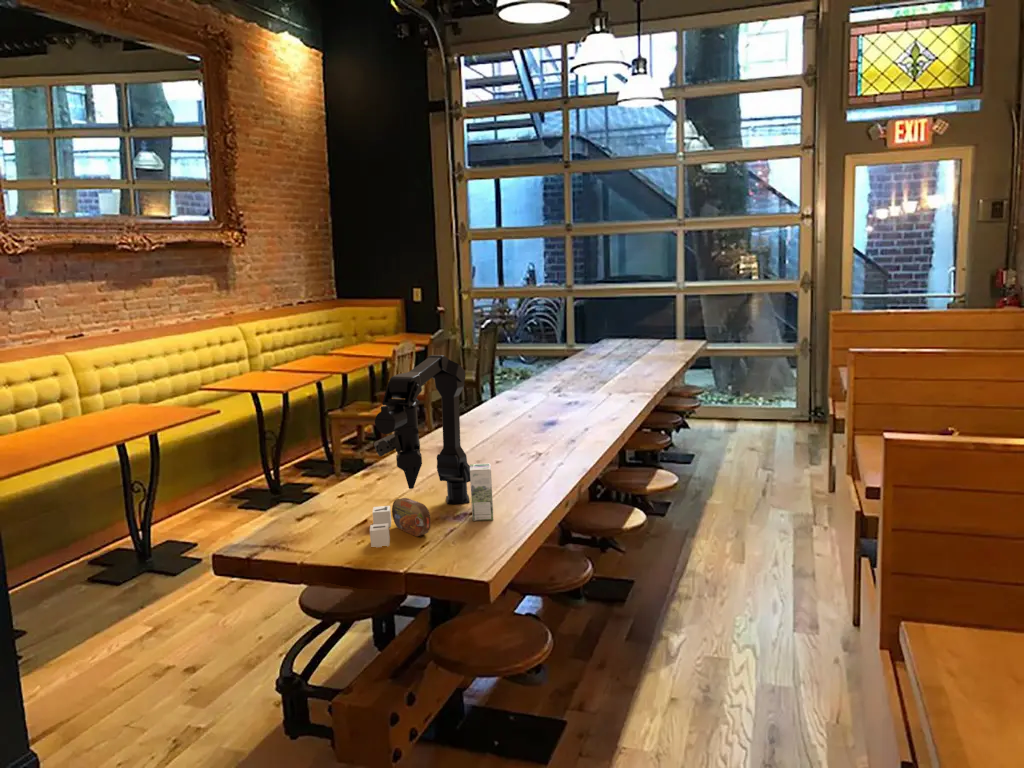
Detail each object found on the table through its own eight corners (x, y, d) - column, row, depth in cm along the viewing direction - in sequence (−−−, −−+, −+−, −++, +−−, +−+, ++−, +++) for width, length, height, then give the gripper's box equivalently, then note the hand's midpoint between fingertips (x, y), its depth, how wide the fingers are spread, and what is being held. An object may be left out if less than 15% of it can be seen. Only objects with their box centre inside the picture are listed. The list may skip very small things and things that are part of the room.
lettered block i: (372, 541, 211) (370, 524, 210) (389, 540, 211) (388, 522, 210) (371, 548, 206) (369, 530, 205) (389, 546, 207) (388, 529, 206)
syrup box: (493, 513, 227) (490, 462, 225) (493, 520, 221) (490, 468, 219) (472, 514, 227) (469, 463, 224) (472, 521, 221) (469, 469, 219)
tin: (392, 526, 221) (389, 495, 220) (402, 523, 223) (399, 493, 222) (423, 540, 210) (421, 508, 208) (433, 537, 212) (431, 505, 210)
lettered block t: (374, 522, 224) (373, 506, 223) (391, 521, 225) (390, 505, 224) (373, 528, 220) (372, 512, 219) (390, 527, 220) (389, 510, 220)
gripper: (375, 419, 219) (379, 475, 222) (373, 435, 201) (378, 497, 204) (417, 415, 220) (421, 472, 223) (419, 432, 202) (424, 493, 205)
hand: (410, 483), depth 214 cm, fingers open, 9 cm apart
